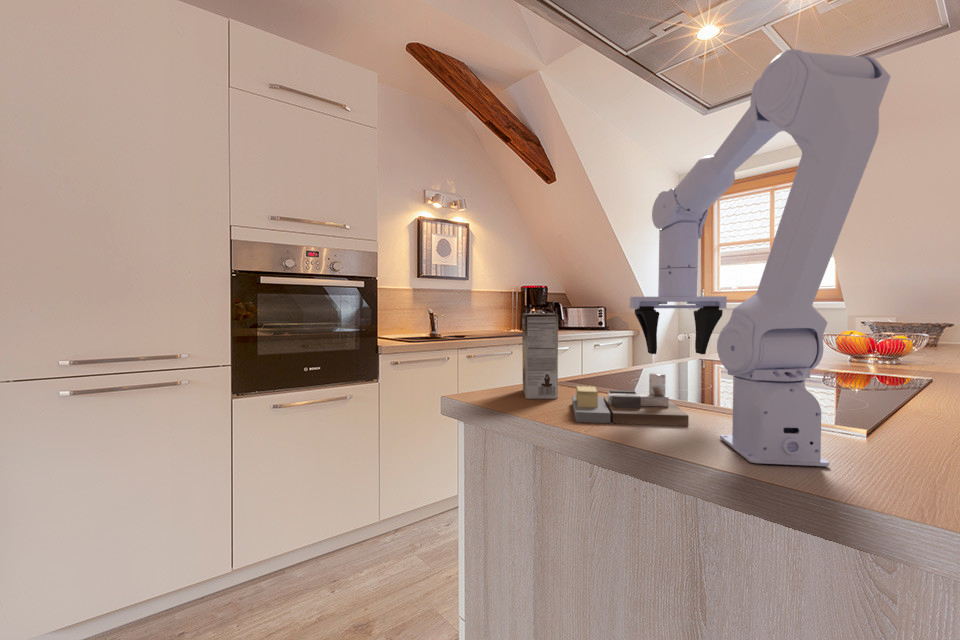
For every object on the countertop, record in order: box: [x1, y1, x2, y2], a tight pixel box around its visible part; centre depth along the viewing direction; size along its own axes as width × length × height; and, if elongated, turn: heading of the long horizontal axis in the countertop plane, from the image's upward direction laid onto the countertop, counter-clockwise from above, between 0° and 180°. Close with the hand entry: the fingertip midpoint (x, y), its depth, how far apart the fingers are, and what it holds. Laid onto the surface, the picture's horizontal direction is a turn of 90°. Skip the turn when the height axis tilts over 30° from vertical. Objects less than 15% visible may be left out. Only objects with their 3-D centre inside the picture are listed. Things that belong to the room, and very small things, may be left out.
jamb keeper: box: [571, 384, 611, 424], centre depth 72 cm, size 12×5×4 cm, turn 171°
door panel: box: [603, 389, 690, 427], centre depth 71 cm, size 12×11×3 cm
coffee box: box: [521, 312, 559, 400], centre depth 87 cm, size 9×6×16 cm
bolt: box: [607, 372, 670, 407], centre depth 71 cm, size 2×9×5 cm, turn 81°
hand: (676, 353), depth 71 cm, fingers open, 7 cm apart
